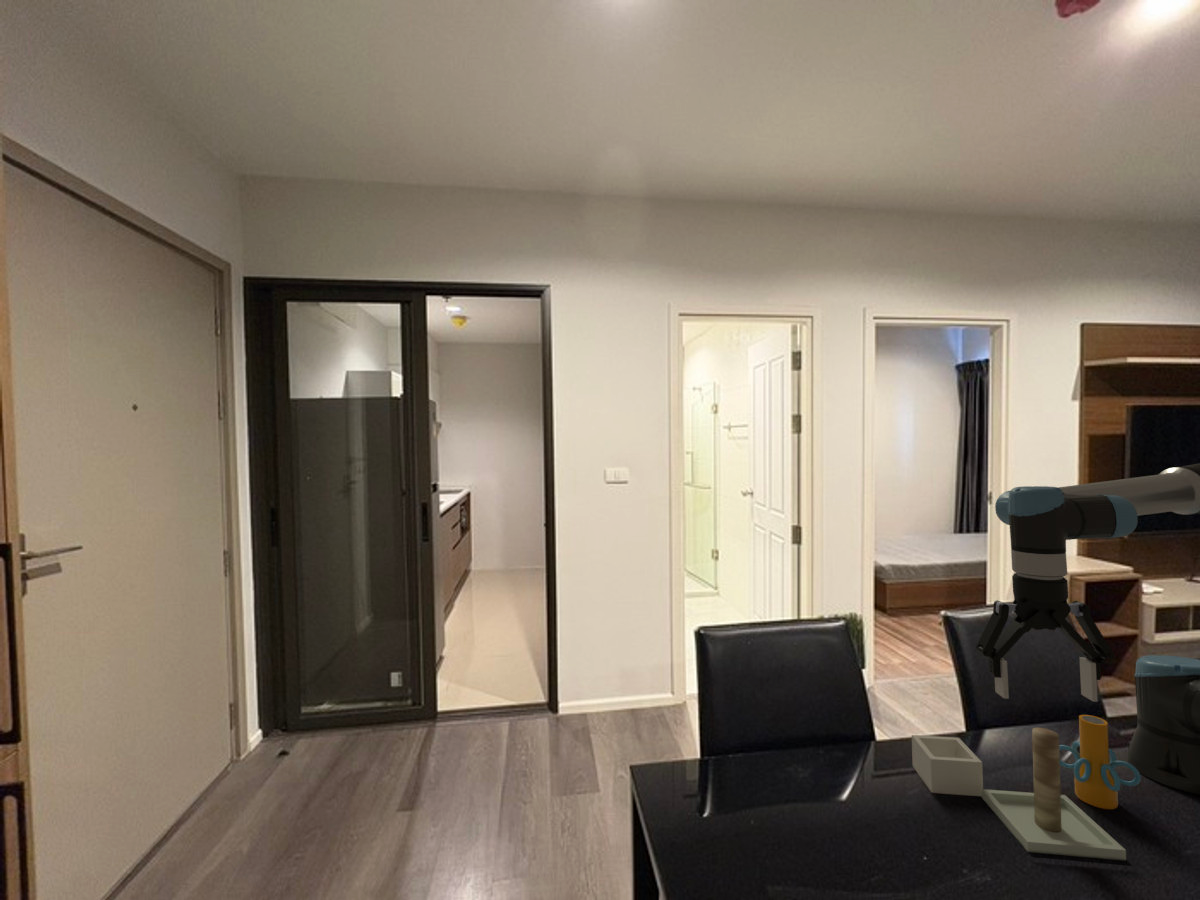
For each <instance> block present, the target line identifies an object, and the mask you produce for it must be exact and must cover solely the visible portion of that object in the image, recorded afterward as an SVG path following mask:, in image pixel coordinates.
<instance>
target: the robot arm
mask: <svg viewBox="0 0 1200 900" xmlns="http://www.w3.org/2000/svg"><path fill="white" fill-rule="evenodd" d="M994 508H995V514H996V516H997V518H998V520H999V521H1001V522H1002V524H1003V523H1004V524H1006V525H1008V526H1009V535H1010V553H1011V555H1010V557H1011V570H1012V572H1014V573H1013V574H1012V575H1011V579H1012V580H1011V581H1012V593H1013V598H1014V599H1013V601H1012V603H1011V602H1009V603H1008V602H1003V601H1000V600H994V602H993V610H992V614H991V616H990V618H989V619H988V622H987V624H986V626H985V628H984V629H983V632H982V634H981V636H980V638H979V640H978V641H977V644H976V646H975V650H976V651H977V652H978V653H980V654H981V655H983V656H985V657H988V673H989V674H990V675H991V676H993V678H994V689H995V690H994V691H995V693H996V694H997V695H999V696H1000V697H1001V698H1002V699H1004V700H1005V699H1006V700H1007V699H1010V698H1009V697H1010V696H1009V693H1010V692H1009V677H1008V676H1009V675H1008V661H1007V660H1006V659H1004V656H1006V654H1007V653H1008V652H1009V651H1010V650H1011V649H1012V648H1013V646H1015V644H1016V643H1017V642H1018V641H1019V640H1020V639H1021V638H1022V637H1023V636H1024V635H1025V633H1029V631H1031V629H1033V630H1037V631H1041V630H1044V629H1045V630H1050V631H1056V629H1058V630H1059V631H1060V632H1061V633H1062V634H1063V635H1064V636H1065V637H1066V638H1067V639H1068V640H1069V641H1070V642H1071V643H1072V644H1073V645H1074V646H1075V647H1076V648H1077V649H1078V650H1079V651H1080V653H1082V654H1083V655H1084V656H1083V657H1082V656H1081V657H1080V656H1079V657H1078V659H1079V674H1080V675H1079V678H1080V695H1082V696H1083V697H1085V698H1086V699H1088V700H1089V701H1091V702H1095V703H1096V702H1098V684H1097V682H1098V681H1101V679H1102V668H1101V666H1102V665H1104V664H1106V661H1107V659H1109V660H1111V659H1113V658H1114V657H1115V654H1114V652H1113V650H1112V649H1111V647H1110V645H1109V643H1108V642H1107V641H1106V638H1105V637H1104V635H1103V634H1102V632H1101V631H1100V629H1099V628H1098V625H1097V624H1096V623H1095V620H1094V619H1093V618H1092V613H1091V608H1090V605H1088V604H1087V603H1083V602H1081V601H1078V600H1073V601H1072V602H1071V603H1068V599H1069V583H1068V582H1069V581H1068V579H1067V578H1066V576H1067V575H1068V565H1067V564H1068V563H1067V541H1070V540H1088V539H1089V540H1090V539H1091V540H1093V539H1099V540H1100V539H1105V540H1110V539H1113V538H1114V539H1115V538H1122V537H1126V536H1128V535H1131V534H1132V533H1133V532H1134V531H1135V530H1136V528H1137V525H1138V522H1139V521H1138V518H1139V516H1144V515H1147V516H1148V515H1153V514H1161V513H1167V512H1168V513H1169V512H1172V513H1174V514H1177V515H1186V516H1187V515H1195V514H1200V463H1194V464H1193V463H1192V464H1189V465H1183V466H1176V467H1169V468H1167V469H1164V470H1162V471H1160V473H1158V474H1154V475H1145V476H1144V475H1143V476H1138V477H1129V478H1123V479H1114V480H1106V481H1099V482H1097V481H1096V482H1090V483H1084V484H1083V483H1082V484H1076V485H1075V484H1074V485H1068V486H1060V487H1057V486H1046V485H1045V486H1044V485H1043V486H1042V485H1041V486H1037V485H1036V486H1035V485H1034V486H1030V485H1029V486H1025V485H1024V486H1016V487H1013V488H1012V489H1011V490H1006V491H1005V492H1003V493H1001V494H999V496H998V498H997V499H996V502H995V507H994ZM1012 612H1014V613H1015V616H1013V618H1012V619H1011V620H1010V624H1009V625H1008V627H1006V628H1005V626H1006V624H1007V622H1008V619H1009V617H1010V616H1012V615H1013V614H1012ZM1070 613H1071V614H1072V615H1073V616H1074V617H1075V619H1076V621H1077V622H1078V624H1079V626H1080V627H1081V629H1082V631H1083V633H1084V634H1085V636H1086V638H1087V639H1088V641H1089V642H1090V643H1088V642H1087V641H1086V640H1085V638H1083V637H1082V636H1081V634H1080V633H1078V632H1077V630H1075V627H1073V626H1072V624H1071V623H1070V622H1069V621H1068V620H1066V619H1067V617H1068V616H1069V615H1070ZM1004 628H1005V630H1004ZM1003 630H1004V631H1003ZM1090 644H1091V645H1090ZM1134 684H1135V700H1136V715H1137V716H1136V718H1137V724H1136V725H1137V726H1136V728H1135V730H1134V733H1133V736H1132V738H1131V740H1130V743H1129V745H1128V746H1127V747H1126V756H1127V757H1126V759H1127V761H1126V762H1127V763H1129V764H1131V765H1133V766H1134V767H1135V768H1136V769H1137V770H1138V772H1139V773H1140V775H1141V774H1142V775H1143V776H1144V777H1147V778H1149V779H1151V780H1152V781H1155V782H1158V783H1160V784H1162V785H1165V786H1166V787H1167V786H1168V787H1170V788H1173V789H1176V790H1179V791H1183V792H1186V793H1191V794H1195V795H1200V659H1199V658H1198V659H1196V658H1192V657H1185V656H1177V655H1176V656H1174V655H1173V656H1172V655H1164V654H1163V655H1160V654H1159V655H1156V654H1155V655H1154V654H1152V655H1151V654H1150V655H1143V656H1140V657H1138V659H1137V660H1136V661H1135V673H1134Z"/></svg>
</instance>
